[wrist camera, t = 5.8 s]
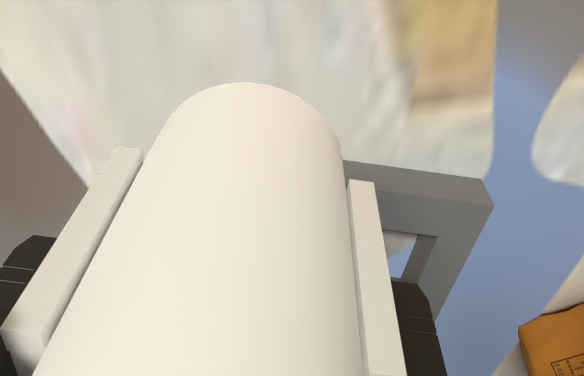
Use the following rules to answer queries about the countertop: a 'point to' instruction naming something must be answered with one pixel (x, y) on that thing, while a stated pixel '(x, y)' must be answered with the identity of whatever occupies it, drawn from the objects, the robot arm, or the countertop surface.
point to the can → (223, 252)
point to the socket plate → (428, 221)
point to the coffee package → (554, 343)
